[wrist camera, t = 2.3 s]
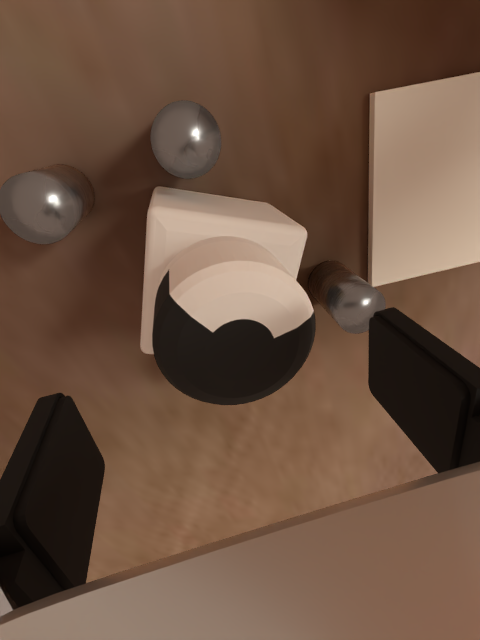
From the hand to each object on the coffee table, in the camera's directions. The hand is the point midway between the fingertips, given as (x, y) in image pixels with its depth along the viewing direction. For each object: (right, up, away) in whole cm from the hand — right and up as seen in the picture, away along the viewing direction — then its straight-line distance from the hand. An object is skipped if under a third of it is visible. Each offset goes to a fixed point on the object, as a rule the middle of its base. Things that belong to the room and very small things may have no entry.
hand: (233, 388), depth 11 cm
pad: (+14, +11, +13) cm, 22 cm away
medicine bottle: (-2, +7, +12) cm, 14 cm away
